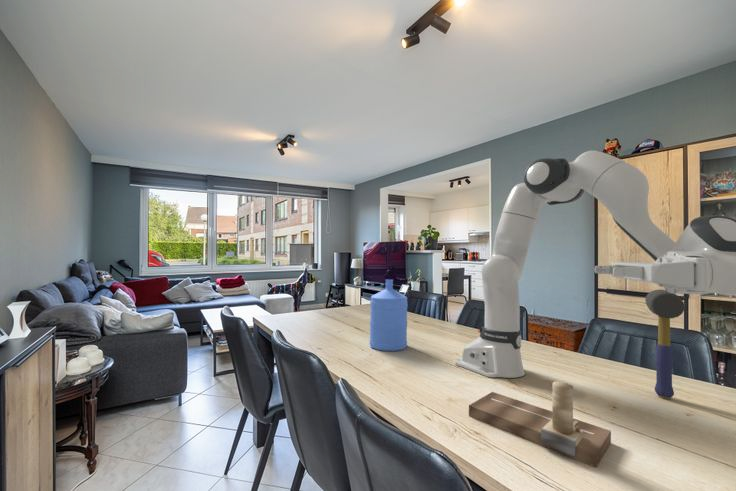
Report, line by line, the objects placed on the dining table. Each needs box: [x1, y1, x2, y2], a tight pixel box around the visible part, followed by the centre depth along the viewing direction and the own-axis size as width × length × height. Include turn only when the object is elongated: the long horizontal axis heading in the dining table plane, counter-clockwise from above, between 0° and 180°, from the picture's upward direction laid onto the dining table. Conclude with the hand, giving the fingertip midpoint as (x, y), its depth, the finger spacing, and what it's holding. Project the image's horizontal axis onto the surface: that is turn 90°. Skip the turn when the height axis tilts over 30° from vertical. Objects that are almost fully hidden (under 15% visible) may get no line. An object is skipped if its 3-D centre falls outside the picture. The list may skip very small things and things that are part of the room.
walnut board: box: [468, 391, 612, 468], centre depth 75 cm, size 26×12×3 cm, turn 43°
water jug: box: [369, 278, 409, 352], centre depth 140 cm, size 16×16×28 cm
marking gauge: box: [541, 381, 583, 456], centre depth 67 cm, size 6×6×12 cm
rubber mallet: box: [645, 289, 686, 400], centre depth 93 cm, size 12×8×30 cm, turn 146°
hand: (603, 270), depth 73 cm, fingers open, 8 cm apart
